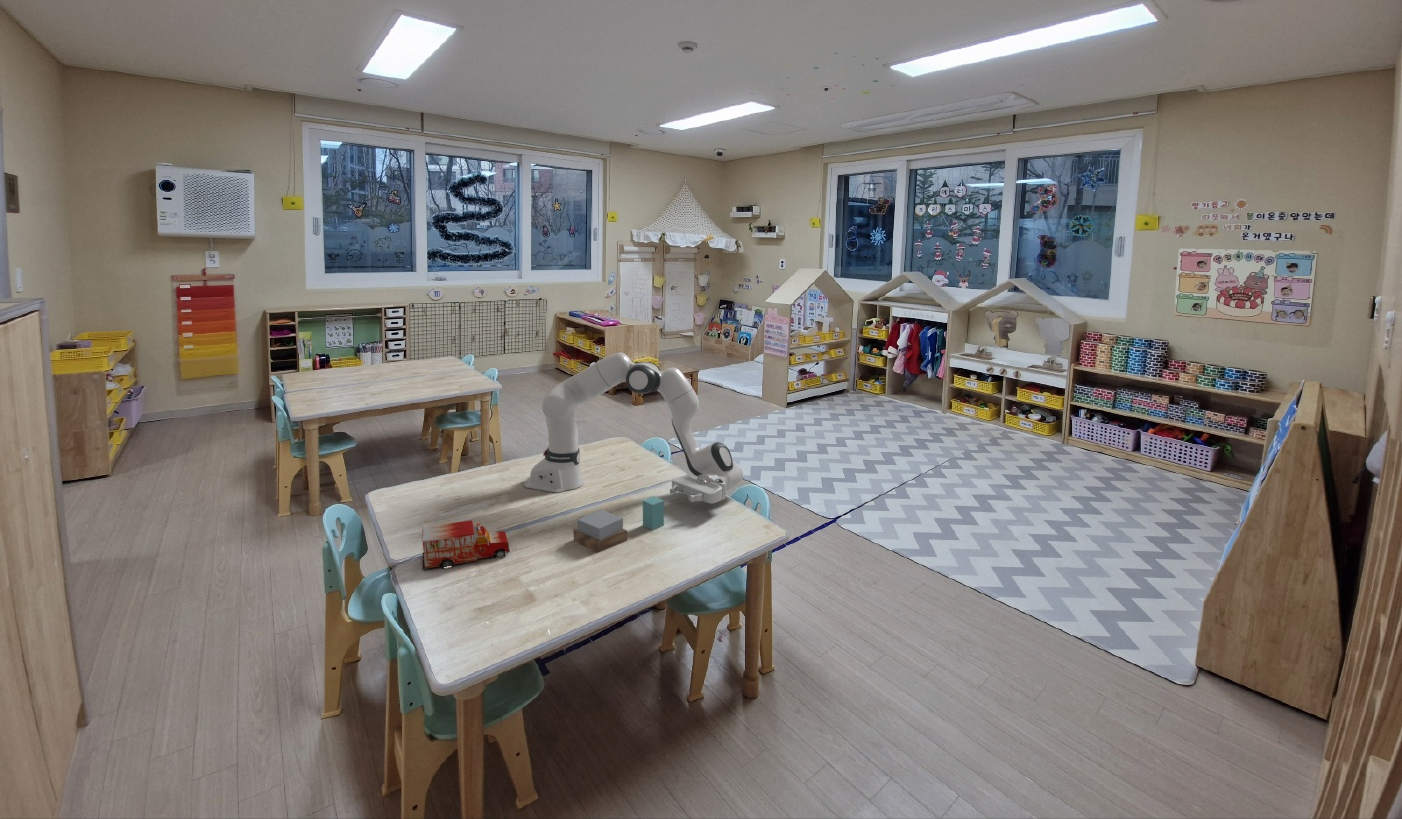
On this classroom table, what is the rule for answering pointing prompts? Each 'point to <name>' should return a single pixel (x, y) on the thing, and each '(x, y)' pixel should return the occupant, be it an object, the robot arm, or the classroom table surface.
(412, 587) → the classroom table surface
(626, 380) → the robot arm
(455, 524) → the red box-shaped vehicle
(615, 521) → the grey slab
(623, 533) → the walnut slab
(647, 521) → the teal column
